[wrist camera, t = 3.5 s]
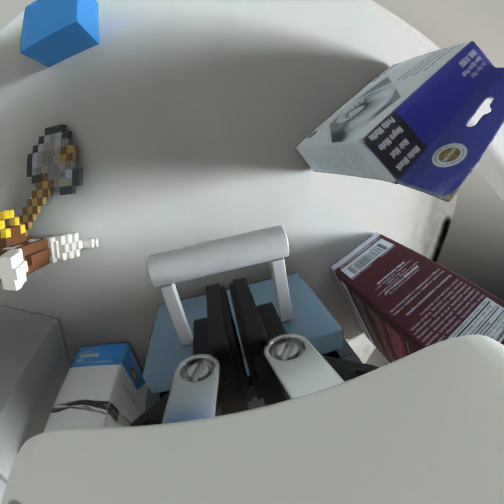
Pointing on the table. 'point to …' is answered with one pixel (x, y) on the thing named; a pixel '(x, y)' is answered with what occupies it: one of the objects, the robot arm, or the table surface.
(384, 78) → the ink box
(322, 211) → the table surface
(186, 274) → the drawer
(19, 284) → the figurine
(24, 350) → the perfume bottle
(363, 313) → the supplement box
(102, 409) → the ink box
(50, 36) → the blue cube
